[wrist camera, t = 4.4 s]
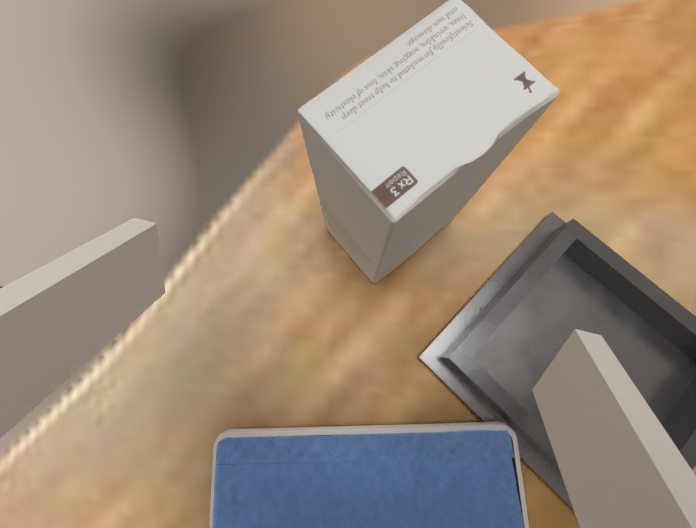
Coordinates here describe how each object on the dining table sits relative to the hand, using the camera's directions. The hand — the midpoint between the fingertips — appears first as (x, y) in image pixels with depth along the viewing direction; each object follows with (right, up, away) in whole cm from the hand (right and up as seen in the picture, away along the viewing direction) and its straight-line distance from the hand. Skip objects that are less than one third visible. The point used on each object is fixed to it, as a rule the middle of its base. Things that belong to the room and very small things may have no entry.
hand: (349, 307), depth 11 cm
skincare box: (+3, +4, +16) cm, 17 cm away
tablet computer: (+1, -15, +11) cm, 19 cm away
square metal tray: (+16, -6, +13) cm, 21 cm away
